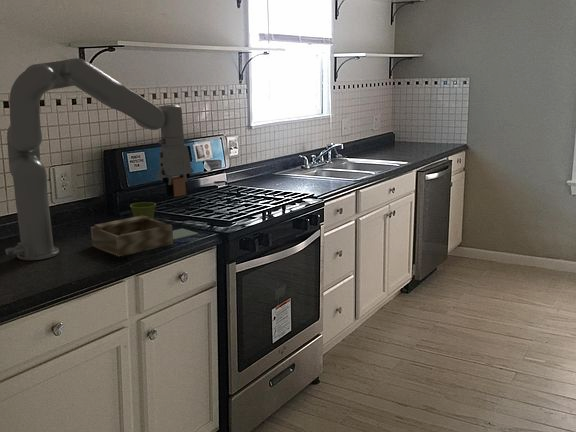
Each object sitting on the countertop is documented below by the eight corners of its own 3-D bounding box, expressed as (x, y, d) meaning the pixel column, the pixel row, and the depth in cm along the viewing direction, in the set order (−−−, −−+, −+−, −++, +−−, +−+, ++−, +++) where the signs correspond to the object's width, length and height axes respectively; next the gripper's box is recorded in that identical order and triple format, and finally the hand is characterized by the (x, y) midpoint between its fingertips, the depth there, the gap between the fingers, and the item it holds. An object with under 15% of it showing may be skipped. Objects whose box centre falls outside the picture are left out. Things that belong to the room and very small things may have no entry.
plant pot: (146, 223, 247) (144, 200, 245) (162, 226, 241) (161, 203, 239) (126, 228, 240) (124, 205, 238) (142, 232, 234) (140, 208, 232)
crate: (119, 256, 204) (117, 234, 203) (92, 246, 217) (90, 224, 216) (173, 244, 217) (171, 222, 216) (145, 234, 230) (143, 214, 229)
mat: (174, 240, 222) (174, 238, 222) (158, 234, 230) (158, 233, 229) (198, 234, 229) (198, 233, 229) (182, 229, 236) (182, 228, 236)
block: (175, 196, 223) (173, 179, 221) (168, 195, 226) (166, 177, 225) (186, 194, 226) (184, 177, 224) (178, 192, 229) (177, 176, 228)
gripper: (157, 145, 213) (161, 200, 218) (199, 139, 224) (203, 191, 229) (145, 143, 219) (150, 197, 223) (187, 138, 230) (191, 189, 234)
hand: (176, 193), depth 226 cm, fingers closed on block, 4 cm apart
